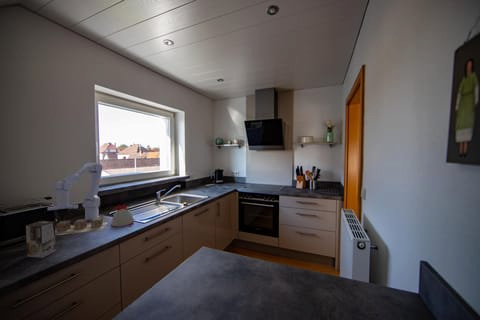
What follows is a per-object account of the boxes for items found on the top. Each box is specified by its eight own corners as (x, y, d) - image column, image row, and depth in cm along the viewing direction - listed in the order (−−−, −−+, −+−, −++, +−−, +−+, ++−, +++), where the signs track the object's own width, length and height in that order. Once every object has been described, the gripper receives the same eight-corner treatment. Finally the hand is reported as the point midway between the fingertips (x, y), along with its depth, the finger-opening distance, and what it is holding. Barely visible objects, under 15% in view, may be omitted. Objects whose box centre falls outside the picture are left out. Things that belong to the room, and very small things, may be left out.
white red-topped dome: (113, 222, 135) (113, 202, 134) (134, 219, 141) (134, 201, 140) (109, 229, 122) (109, 208, 122) (132, 226, 128) (132, 206, 128)
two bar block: (94, 225, 126) (94, 218, 126) (102, 224, 128) (102, 217, 128) (91, 228, 121) (91, 220, 121) (100, 227, 123) (100, 219, 123)
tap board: (60, 227, 123) (60, 226, 123) (109, 222, 134) (109, 221, 134) (45, 238, 109) (45, 236, 109) (102, 231, 119) (102, 229, 119)
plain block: (60, 228, 119) (60, 221, 119) (70, 227, 121) (70, 220, 121) (56, 232, 115) (56, 224, 114) (66, 230, 117) (66, 223, 116)
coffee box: (56, 251, 95) (56, 221, 95) (42, 258, 89) (41, 226, 88) (41, 249, 96) (40, 220, 95) (25, 256, 90) (25, 225, 89)
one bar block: (77, 227, 123) (77, 219, 123) (86, 226, 125) (86, 218, 124) (74, 230, 118) (74, 222, 118) (83, 229, 120) (83, 221, 120)
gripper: (44, 202, 111) (44, 223, 111) (74, 200, 116) (74, 220, 117) (51, 199, 117) (51, 219, 118) (79, 197, 123) (79, 217, 123)
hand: (63, 220), depth 118 cm, fingers closed
